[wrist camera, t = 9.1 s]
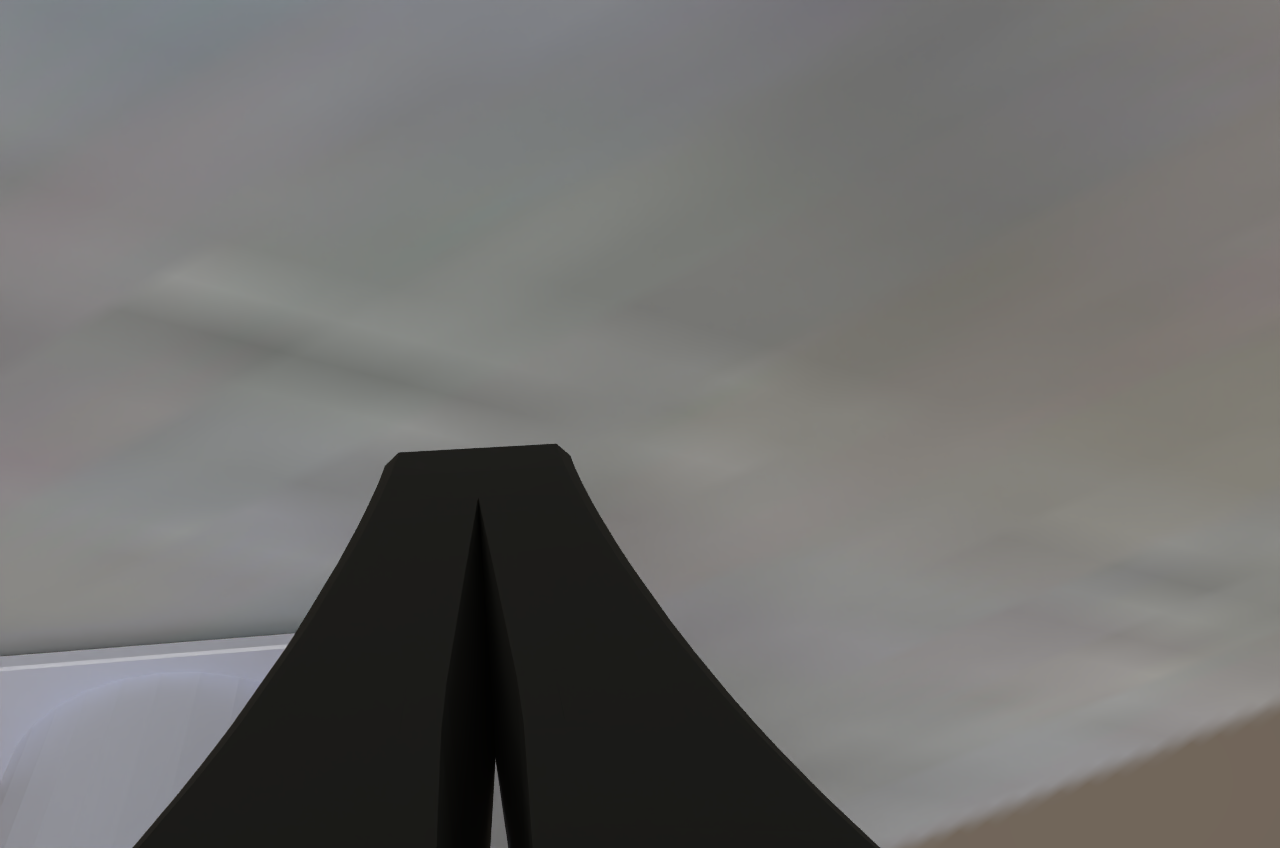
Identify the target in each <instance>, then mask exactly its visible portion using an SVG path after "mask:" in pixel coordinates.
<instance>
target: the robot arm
mask: <svg viewBox="0 0 1280 848" xmlns="http://www.w3.org/2000/svg"><path fill="white" fill-rule="evenodd" d="M495 758H496V765H497V772H498V779H499V786H500V793H501V800H502V807H503V814H504V821H505V828H506V834H507V841H508V848H880V847H879V846H877V845H876V844H875V843H874V842H873V841H872V840H871V839H870V838H869V837H868V836H867V835H866V834H865V833H864V832H863V831H862V830H861V829H860V828H858V827H857V826H856V825H855V824H854V823H853V822H852V821H851V820H850V819H849V818H848V817H847V816H846V815H845V814H844V813H843V812H842V811H841V810H839V809H838V808H837V807H836V806H835V805H834V804H833V803H832V802H831V801H830V800H829V799H828V798H827V797H826V796H825V795H824V794H823V793H822V792H821V791H820V790H819V789H818V788H817V787H816V786H815V785H814V784H813V783H812V782H811V781H810V780H809V779H808V778H807V777H806V776H805V775H804V774H803V773H802V772H801V771H800V770H799V769H798V768H797V767H796V766H795V765H794V764H793V763H792V762H791V761H790V760H789V759H788V758H787V757H786V756H785V755H784V754H783V753H782V752H781V751H780V750H779V749H778V748H777V746H776V745H775V744H774V743H773V742H772V741H771V740H770V739H769V738H768V737H767V736H766V735H765V733H764V732H763V731H762V730H761V729H760V728H759V727H758V726H757V725H756V724H755V723H754V721H753V720H752V719H751V718H750V717H749V716H748V715H747V714H746V712H745V711H744V710H743V709H742V708H741V707H740V706H739V704H738V703H737V702H736V701H735V700H734V699H733V698H732V696H731V695H730V694H729V693H728V692H727V691H726V689H725V688H724V687H723V686H722V684H721V683H720V682H719V681H718V680H717V678H716V677H715V676H714V675H713V674H712V672H711V671H710V670H709V669H708V668H707V666H706V665H705V664H704V663H703V662H702V660H701V659H700V658H699V657H698V655H697V654H696V653H695V652H694V651H693V649H692V648H691V647H690V645H689V644H688V643H687V642H686V640H685V639H684V638H683V636H682V635H681V634H680V632H679V631H678V630H677V629H676V627H675V626H674V625H673V623H672V622H671V621H670V619H669V618H668V617H667V615H666V614H665V612H664V611H663V610H662V608H661V607H660V605H659V604H658V603H657V601H656V600H655V598H654V597H653V596H652V594H651V593H650V591H649V590H648V589H647V587H646V586H645V584H644V583H643V582H642V580H641V579H640V577H639V576H638V575H637V573H636V572H635V570H634V569H633V567H632V566H631V564H630V563H629V561H628V560H627V558H626V557H625V555H624V554H623V552H622V551H621V549H620V548H619V546H618V545H617V543H616V541H615V540H614V538H613V536H612V535H611V533H610V532H609V530H608V528H607V527H606V525H605V523H604V522H603V520H602V518H601V517H600V515H599V513H598V512H597V510H596V508H595V506H594V504H593V503H592V501H591V499H590V497H589V495H588V493H587V492H586V490H585V488H584V486H583V484H582V482H581V480H580V477H579V475H578V473H577V471H576V469H575V467H574V464H573V462H572V459H571V456H570V455H569V454H568V453H567V452H565V451H564V450H563V449H562V448H561V447H560V446H558V445H557V444H543V445H525V446H508V447H490V448H472V449H454V450H436V451H418V452H400V453H398V454H397V455H396V456H395V457H394V458H393V459H392V460H391V461H390V462H389V463H388V464H387V465H385V467H384V470H383V473H382V475H381V478H380V481H379V483H378V485H377V488H376V490H375V492H374V494H373V496H372V499H371V501H370V503H369V505H368V507H367V509H366V511H365V513H364V515H363V517H362V519H361V521H360V523H359V525H358V527H357V529H356V531H355V533H354V534H353V536H352V538H351V540H350V542H349V544H348V546H347V547H346V549H345V551H344V553H343V555H342V557H341V558H340V560H339V562H338V564H337V566H336V567H335V569H334V571H333V572H332V574H331V575H330V577H329V579H328V580H327V582H326V584H325V585H324V587H323V589H322V590H321V592H320V594H319V595H318V597H317V599H316V600H315V602H314V603H313V605H312V607H311V608H310V610H309V612H308V613H307V615H306V617H305V618H304V620H303V622H302V623H301V625H300V627H299V628H298V630H297V631H296V633H292V634H279V635H267V636H254V637H241V638H229V639H216V640H203V641H191V642H178V643H165V644H153V645H140V646H127V647H115V648H102V649H89V650H77V651H64V652H52V653H39V654H26V655H14V656H1V657H0V848H490V844H491V827H492V810H493V793H494V775H495Z"/></svg>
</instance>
